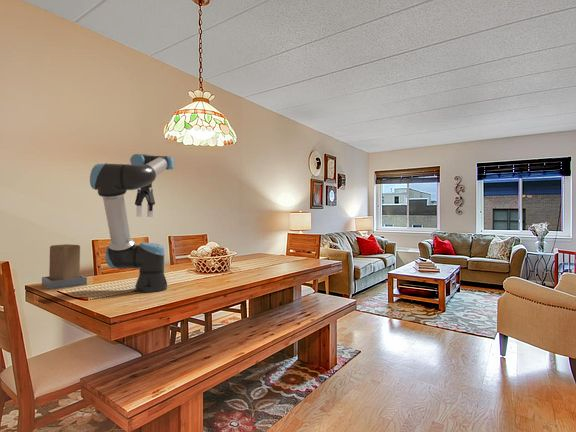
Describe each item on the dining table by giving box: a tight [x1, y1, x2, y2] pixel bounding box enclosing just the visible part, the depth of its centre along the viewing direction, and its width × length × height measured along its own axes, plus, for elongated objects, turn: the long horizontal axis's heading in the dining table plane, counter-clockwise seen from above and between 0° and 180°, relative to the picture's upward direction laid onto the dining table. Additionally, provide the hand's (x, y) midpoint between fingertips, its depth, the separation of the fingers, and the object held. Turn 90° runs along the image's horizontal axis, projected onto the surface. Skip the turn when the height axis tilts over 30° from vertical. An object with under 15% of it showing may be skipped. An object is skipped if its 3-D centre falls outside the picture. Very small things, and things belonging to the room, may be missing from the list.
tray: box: [41, 274, 88, 291], centre depth 173 cm, size 16×16×4 cm
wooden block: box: [48, 243, 81, 281], centre depth 173 cm, size 10×10×20 cm
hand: (144, 216), depth 194 cm, fingers open, 13 cm apart
